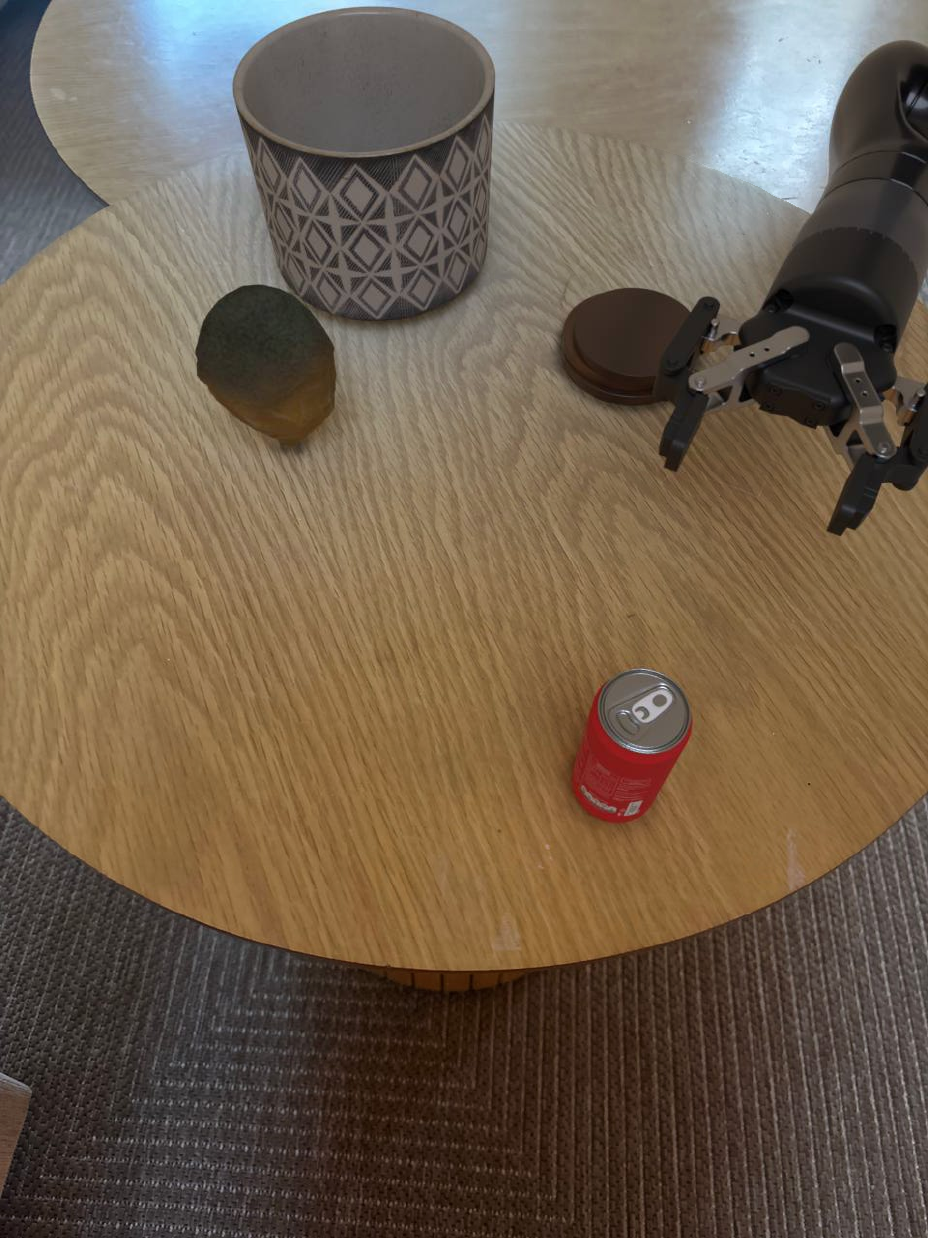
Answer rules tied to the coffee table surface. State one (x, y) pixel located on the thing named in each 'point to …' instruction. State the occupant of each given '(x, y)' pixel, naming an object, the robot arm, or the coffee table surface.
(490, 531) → the coffee table surface
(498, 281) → the coffee table surface
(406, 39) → the planter
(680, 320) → the disc pile
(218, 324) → the decorative stone
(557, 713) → the coffee table surface
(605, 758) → the beverage can
